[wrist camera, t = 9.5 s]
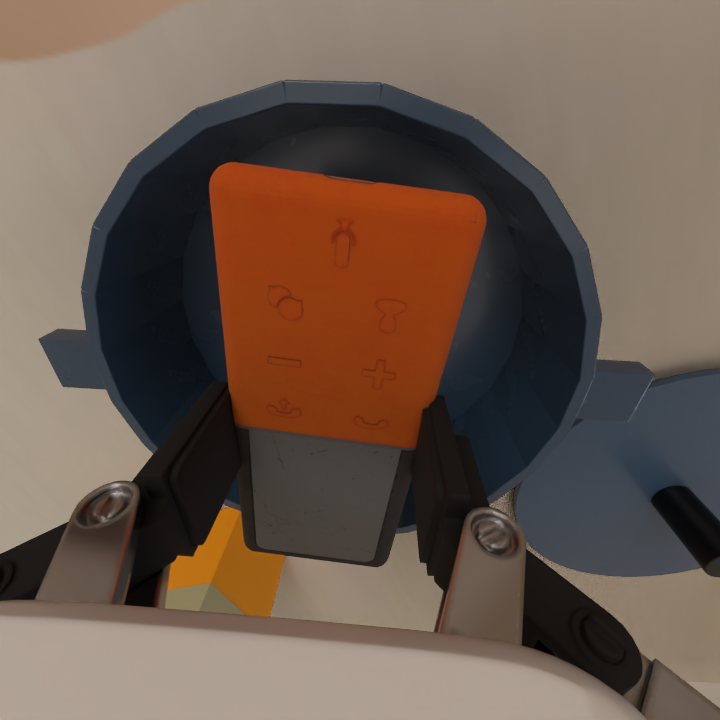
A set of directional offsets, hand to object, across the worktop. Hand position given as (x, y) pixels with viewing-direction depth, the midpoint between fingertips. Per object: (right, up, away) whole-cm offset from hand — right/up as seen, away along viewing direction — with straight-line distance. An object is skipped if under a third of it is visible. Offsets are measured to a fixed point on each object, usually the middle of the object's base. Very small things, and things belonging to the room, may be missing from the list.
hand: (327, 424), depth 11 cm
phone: (0, 0, +1) cm, 1 cm away
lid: (+22, -7, +12) cm, 26 cm away
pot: (0, +4, +7) cm, 8 cm away
